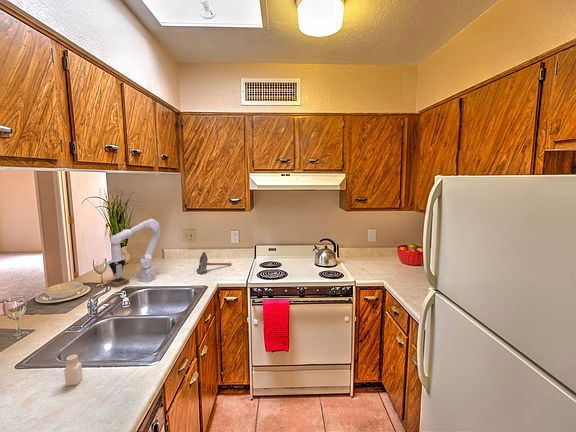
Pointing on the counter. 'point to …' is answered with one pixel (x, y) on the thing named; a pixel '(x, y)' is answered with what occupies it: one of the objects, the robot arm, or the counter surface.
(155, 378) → the counter surface
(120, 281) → the frame
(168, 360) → the counter surface
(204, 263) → the hammer
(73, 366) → the salt shaker
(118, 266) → the slate peg
